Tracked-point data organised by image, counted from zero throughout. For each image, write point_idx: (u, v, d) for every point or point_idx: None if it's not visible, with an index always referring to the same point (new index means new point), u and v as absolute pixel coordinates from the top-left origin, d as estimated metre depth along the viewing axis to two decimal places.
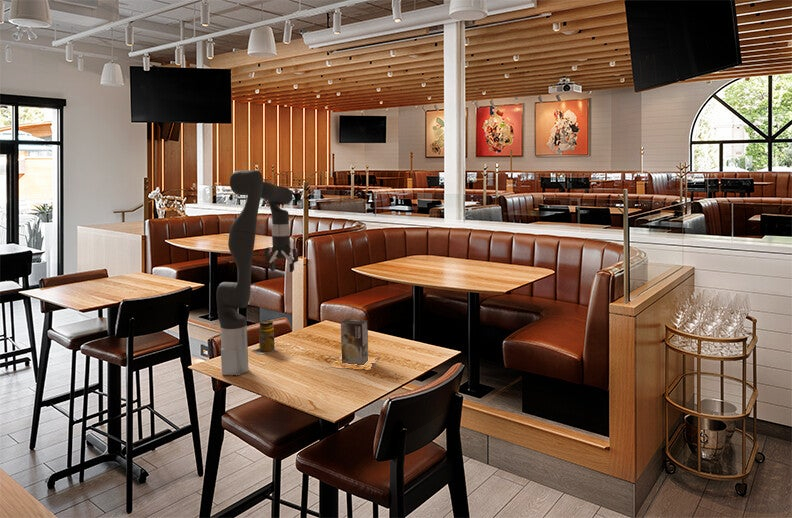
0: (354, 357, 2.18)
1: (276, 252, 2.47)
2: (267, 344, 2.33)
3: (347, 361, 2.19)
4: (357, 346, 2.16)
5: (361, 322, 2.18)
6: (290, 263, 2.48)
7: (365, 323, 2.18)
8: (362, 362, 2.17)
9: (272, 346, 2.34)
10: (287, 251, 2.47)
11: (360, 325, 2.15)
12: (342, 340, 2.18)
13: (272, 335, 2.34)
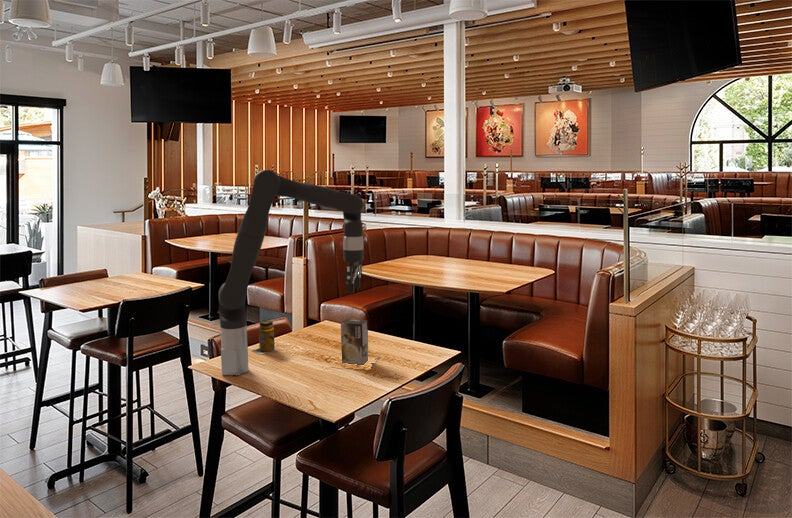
0: (354, 357, 2.18)
1: (357, 269, 2.14)
2: (267, 344, 2.33)
3: (347, 361, 2.19)
4: (357, 346, 2.16)
5: (361, 322, 2.18)
6: (358, 278, 2.20)
7: (365, 323, 2.18)
8: (362, 362, 2.17)
9: (272, 346, 2.34)
10: None
11: (360, 325, 2.15)
12: (342, 340, 2.18)
13: (272, 335, 2.34)
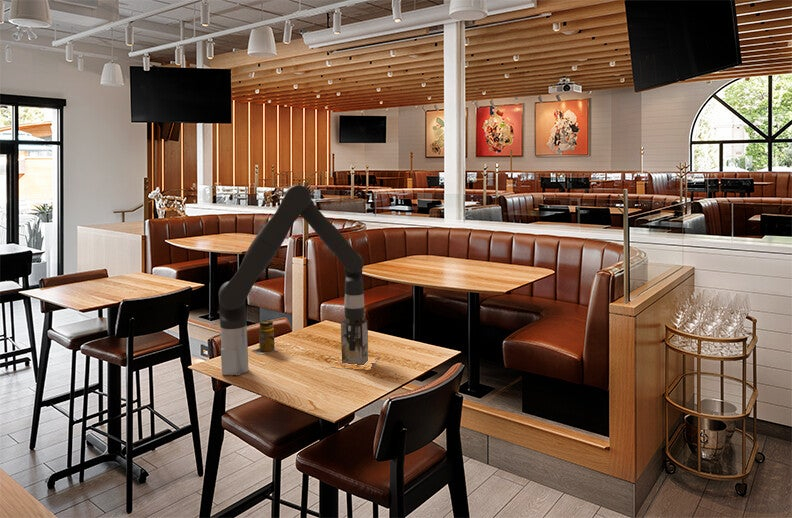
0: (354, 357, 2.17)
1: None
2: (267, 344, 2.33)
3: (347, 361, 2.19)
4: (357, 346, 2.16)
5: (361, 322, 2.18)
6: None
7: (365, 323, 2.18)
8: (362, 362, 2.17)
9: (272, 346, 2.34)
10: None
11: (360, 325, 2.15)
12: (342, 340, 2.18)
13: (272, 335, 2.34)
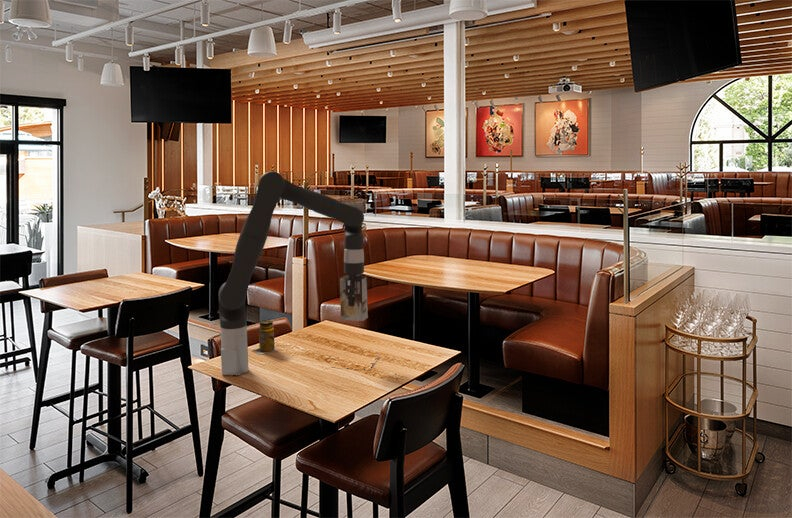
0: (353, 313, 2.15)
1: None
2: (267, 344, 2.33)
3: (346, 317, 2.16)
4: (356, 301, 2.14)
5: (361, 277, 2.15)
6: None
7: (365, 279, 2.15)
8: (361, 318, 2.14)
9: (272, 346, 2.34)
10: None
11: (359, 280, 2.12)
12: (341, 296, 2.15)
13: (272, 335, 2.34)
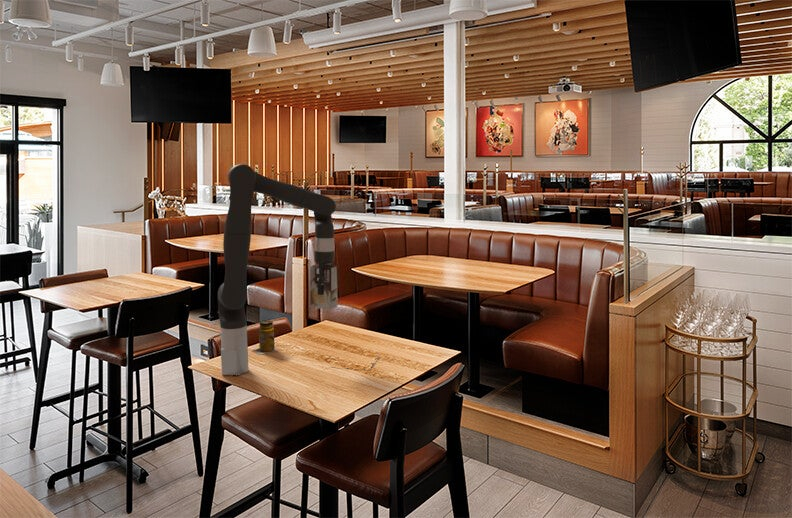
0: (322, 301, 2.16)
1: None
2: (267, 344, 2.33)
3: (315, 306, 2.17)
4: (326, 290, 2.15)
5: (331, 266, 2.16)
6: None
7: (335, 268, 2.17)
8: (330, 307, 2.16)
9: (272, 346, 2.34)
10: None
11: (329, 268, 2.14)
12: (311, 284, 2.17)
13: (272, 335, 2.34)
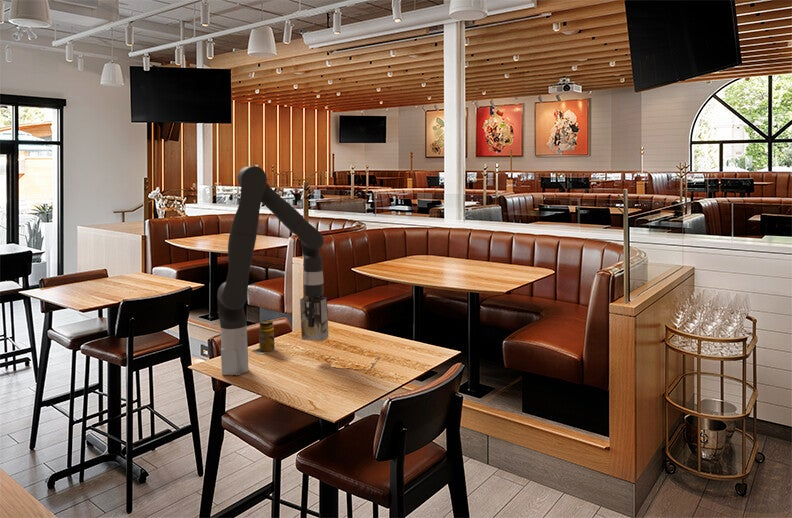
0: (313, 333, 2.20)
1: None
2: (267, 344, 2.33)
3: (307, 338, 2.21)
4: (316, 322, 2.18)
5: (320, 298, 2.20)
6: None
7: (324, 300, 2.20)
8: (321, 338, 2.19)
9: (272, 346, 2.34)
10: None
11: (318, 301, 2.17)
12: (301, 317, 2.20)
13: (272, 335, 2.34)
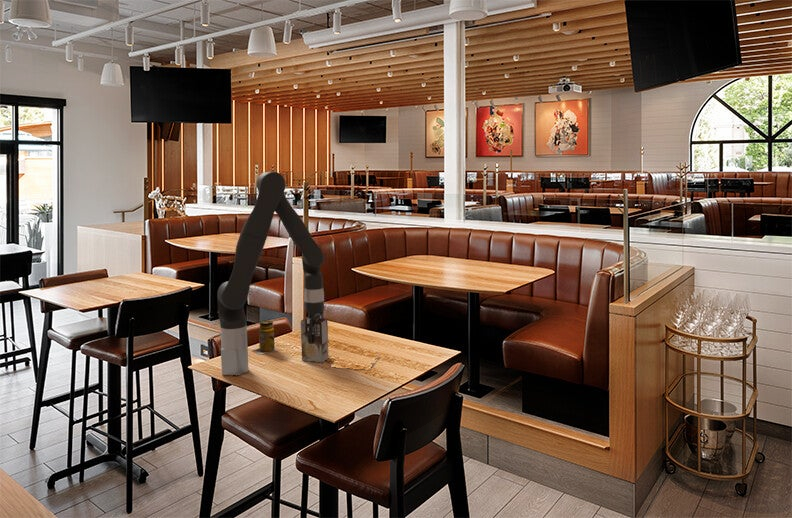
0: (314, 354, 2.21)
1: None
2: (267, 344, 2.33)
3: (307, 359, 2.22)
4: (317, 344, 2.20)
5: (321, 320, 2.21)
6: None
7: (325, 321, 2.21)
8: (322, 360, 2.20)
9: (272, 346, 2.34)
10: (320, 315, 2.25)
11: (319, 323, 2.18)
12: (302, 338, 2.21)
13: (272, 335, 2.34)
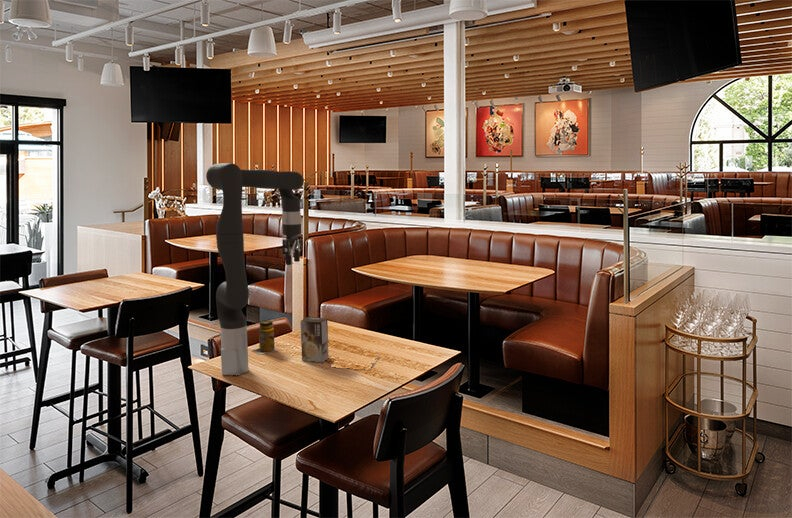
0: (314, 354, 2.21)
1: (295, 242, 2.27)
2: (267, 344, 2.33)
3: (307, 359, 2.22)
4: (317, 344, 2.20)
5: (321, 320, 2.21)
6: (298, 252, 2.33)
7: (325, 321, 2.21)
8: (322, 360, 2.20)
9: (272, 346, 2.34)
10: (297, 239, 2.32)
11: (319, 323, 2.18)
12: (302, 338, 2.21)
13: (272, 335, 2.34)
